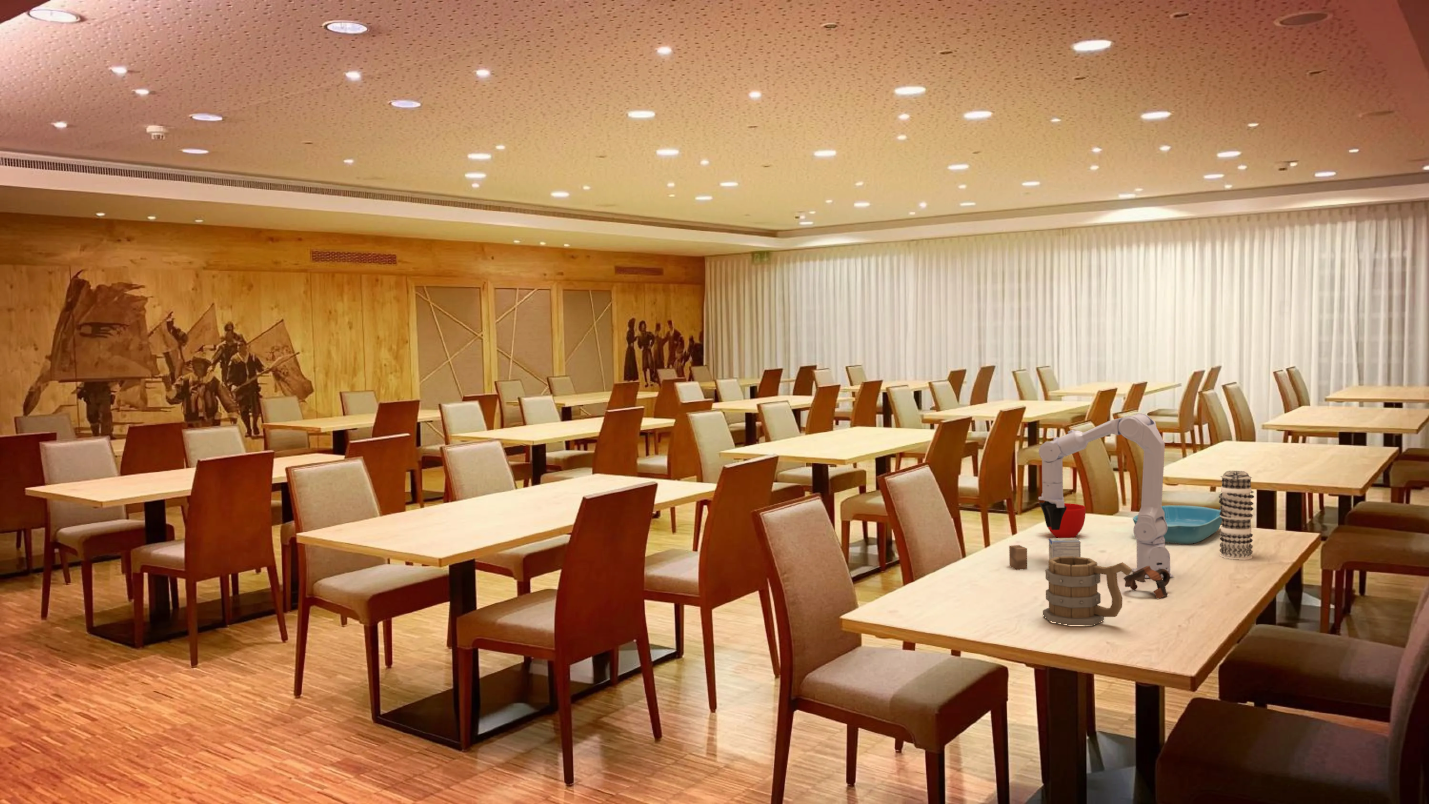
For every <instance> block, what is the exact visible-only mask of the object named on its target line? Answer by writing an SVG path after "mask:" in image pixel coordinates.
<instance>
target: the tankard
mask: <svg viewBox="0 0 1429 804" xmlns="http://www.w3.org/2000/svg"><path fill="white" fill-rule="evenodd" d="M1047 561H1048V563H1047V564H1048V565H1047V566H1048V568H1047V569H1045V580H1046V581H1048V589H1046V590H1045V600H1046V601H1047V602H1048V608H1044V609H1043V610H1042V616H1043V615H1044V616H1045V617H1046V618H1047V619H1048V620H1049V621H1052V622H1056V623H1061V624H1067V625H1094V624H1097V623H1099V622H1101V621H1103V620H1104V621H1105V618H1116V617H1117V616H1118V615H1119V614H1120V612H1121V610H1122V608H1123V596H1122V593H1121V591H1120V587H1119V583H1118V576H1117V575H1118V573H1120V572H1121V573H1123V574H1124V575H1125V576H1127V575H1131V573H1132V572H1133V571H1132V569H1133V568H1132V567H1130V566H1129V565H1127V564H1126V563H1124V562H1123V561H1122V562H1119V563H1117V564H1113V565H1110V566H1102V565H1098V562H1097V561H1095V560H1094V559H1092V558H1090V557H1089V558H1088V557H1083V556H1082V557H1077V556H1075V557H1073V556H1063V557H1055V558H1052V559H1049V558H1048V560H1047ZM1101 575H1105V576H1106V585H1107V589H1108V591H1109V593H1110V597H1111V605H1110V607H1105V606H1101V605H1100V604H1101V601H1102V600H1101V598H1102V597H1101V595H1102V594H1101V593H1100V592H1098V584H1101ZM1046 618H1045V619H1046ZM1047 619H1046V620H1047ZM1048 620H1047V621H1048ZM1049 621H1048V622H1049ZM1104 621H1103V622H1104ZM1101 623H1102V622H1101ZM1099 624H1100V623H1099ZM1097 625H1098V624H1097Z"/></svg>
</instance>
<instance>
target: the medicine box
mask: <svg viewBox="0 0 1429 804" xmlns="http://www.w3.org/2000/svg"><path fill="white" fill-rule="evenodd" d="M1081 543H1082V541H1080V540H1079V539H1078V538H1077V537H1075V538H1056V537H1053V538H1048V560H1049V559H1052V558H1055V557H1063V556H1073V557H1075V556H1077V557H1081V556H1082V555H1081V551H1082V550H1081Z"/></svg>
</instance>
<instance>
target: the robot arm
mask: <svg viewBox="0 0 1429 804" xmlns="http://www.w3.org/2000/svg"><path fill="white" fill-rule="evenodd" d="M1156 423H1157V422H1156V421H1155V420H1154V419H1152V418H1151V417H1150V416H1149V415H1147V414H1146V413H1136V414H1133V415H1127V416H1124V417H1121V418H1120V417H1119V418H1115V419H1111V420H1108V421H1106V422H1104V423H1101V424H1099V425H1097V426H1095V427H1093V428H1090V429H1089V430H1086V431H1081V430H1074V429H1071V430H1069V431H1067V434H1064V435H1062V436H1056V437H1054V438H1053V440H1051V441H1050V440H1049V441H1044V443H1042V444H1041V445H1040V446H1039V447H1038V455H1039V457H1040V458H1041V485H1042V487H1041V488H1042V493H1041V496H1038V500H1039V501H1043V502H1039V503H1038V504H1039V507H1040V508H1041V511H1042V513H1043V517H1044V521H1045V525H1046V527H1047V528H1048V527H1051V529H1052V530H1059V529H1060V525H1061V521H1062V517H1063V515H1064V512H1065V511H1066V509H1067V507H1066V506H1064V503H1065V497H1064V474H1063V468H1064V467H1063V459H1064V458H1065V457H1067V456H1070V455H1073V454H1075V453H1078V452H1080V451H1083V450H1086V449H1087V447H1088V444H1089V443H1091V442H1093V441H1096V440H1099V439H1101V438H1103V437H1107V436H1109V435H1115V436H1120V435H1121V436H1122V437H1124V438H1126V440H1129V441H1131V442H1134V443H1136V444H1137V445H1138V446H1139V448H1141V449H1142V450H1143V463H1142V464H1143V465H1142V480H1141V481H1142V484H1141V504H1140V505H1141V506H1140V509H1139V511H1138V514H1137V515H1138V520H1137V523H1136V524H1135V523H1134V526H1133V534H1134V537H1135V538H1136V567H1135V568H1131V569H1132V571H1131V572H1132V573H1133V572H1135V571H1137V570H1139V569H1142V568H1144V567H1146V566H1150V568H1151V569H1152V570H1154V571H1157V570H1159V569H1165V570H1167V571H1168V572H1169V574H1170V578H1174V576H1175V575H1174V574H1171V554H1170V551H1169V550H1168V549H1167V548H1166V542H1165V539H1164V537H1163V535H1165V533H1166V532H1167V528H1168V527H1167V523H1166V521H1165V512H1164V511H1163V509H1162V506H1163V504H1162V503H1163V489H1164V488H1163V485H1164V470H1165V469H1164V468H1165V466H1164V465H1165V452H1166V451H1165V448H1166V446H1165V445H1166V443H1165V441H1164V439H1163V437H1162V435H1161V434H1160V431H1159V430H1158V427H1157V424H1156ZM1161 577H1162V578H1163V575H1162V574H1161ZM1145 579H1150V578H1149V576H1148V575H1145Z"/></svg>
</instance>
